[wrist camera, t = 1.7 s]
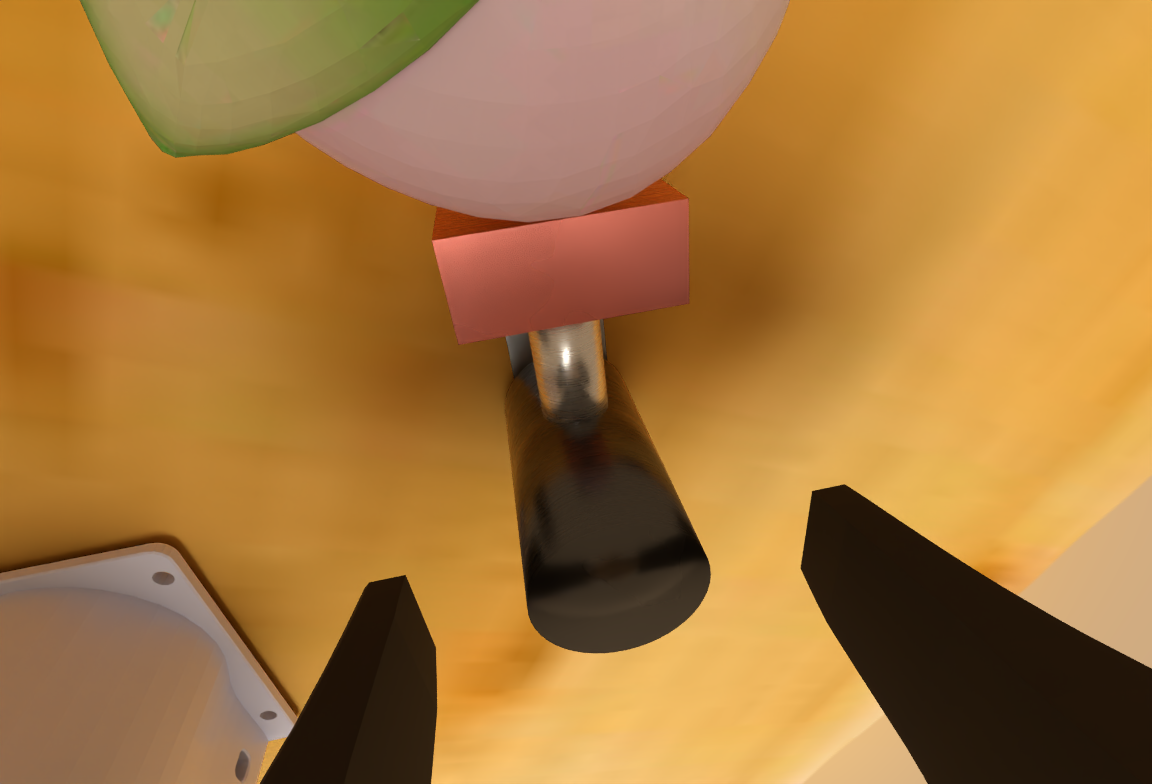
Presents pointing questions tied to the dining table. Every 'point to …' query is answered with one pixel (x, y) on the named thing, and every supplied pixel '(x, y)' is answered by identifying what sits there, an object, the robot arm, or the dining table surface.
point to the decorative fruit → (446, 88)
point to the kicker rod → (583, 412)
